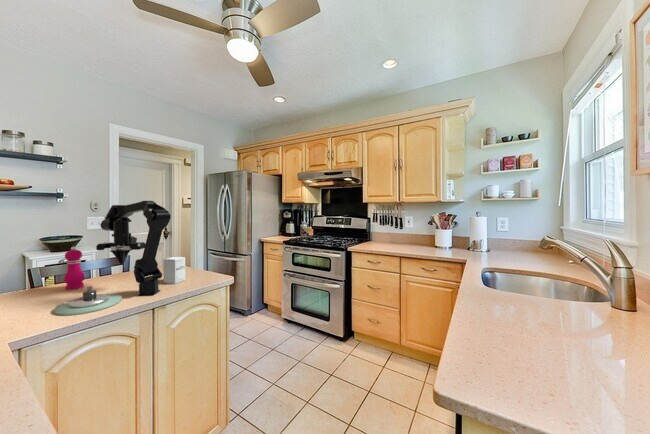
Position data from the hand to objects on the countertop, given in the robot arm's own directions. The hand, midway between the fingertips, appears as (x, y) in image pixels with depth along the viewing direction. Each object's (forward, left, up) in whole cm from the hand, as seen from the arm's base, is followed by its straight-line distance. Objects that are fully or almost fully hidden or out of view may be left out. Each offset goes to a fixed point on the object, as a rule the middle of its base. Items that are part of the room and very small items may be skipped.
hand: (122, 264), depth 123 cm
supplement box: (-19, -10, -12) cm, 25 cm away
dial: (+1, +19, -11) cm, 21 cm away
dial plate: (0, +20, -12) cm, 23 cm away
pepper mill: (+24, -4, -12) cm, 27 cm away
